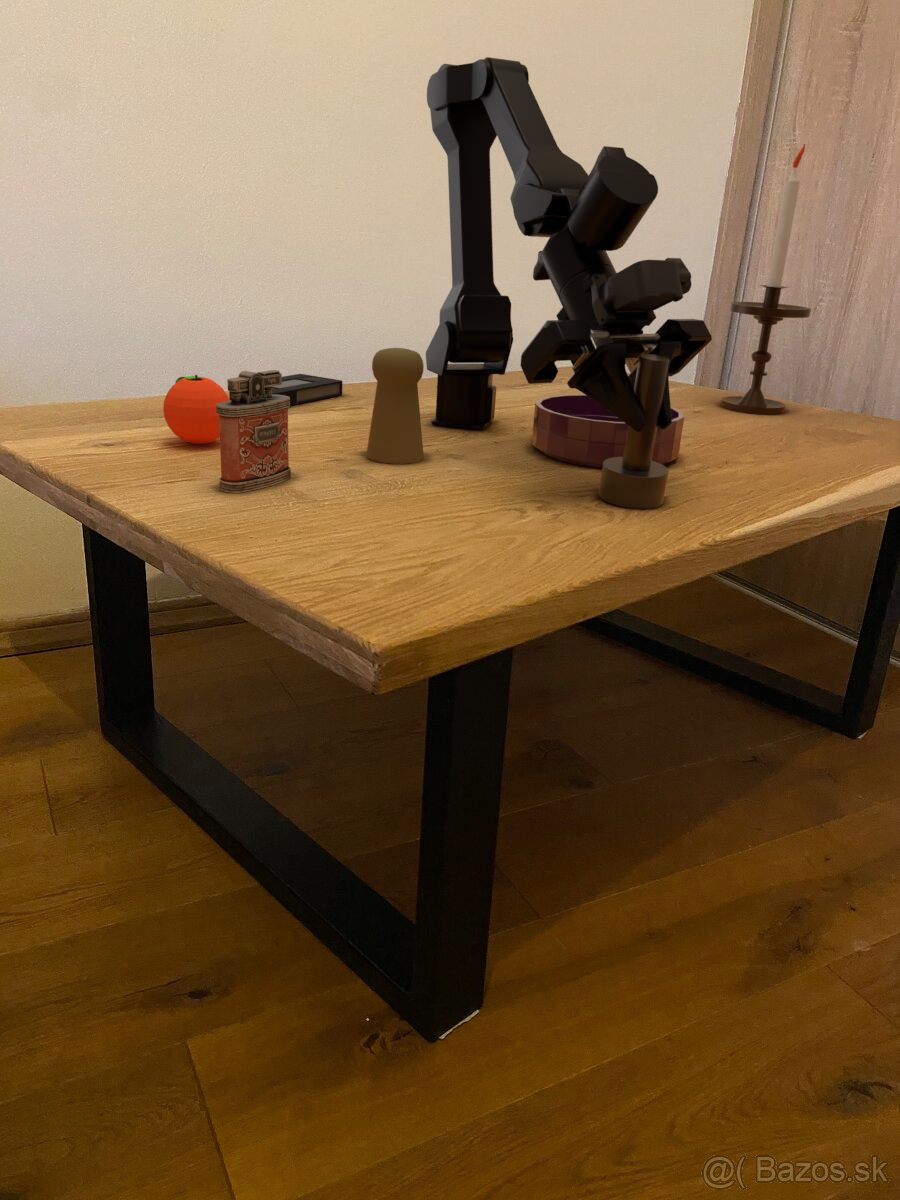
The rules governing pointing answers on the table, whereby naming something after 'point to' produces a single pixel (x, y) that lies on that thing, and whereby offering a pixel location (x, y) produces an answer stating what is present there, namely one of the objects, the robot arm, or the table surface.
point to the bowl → (593, 432)
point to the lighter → (253, 433)
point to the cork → (396, 408)
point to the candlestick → (770, 307)
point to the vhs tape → (307, 388)
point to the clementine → (194, 409)
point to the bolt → (639, 446)
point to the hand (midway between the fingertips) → (654, 427)
